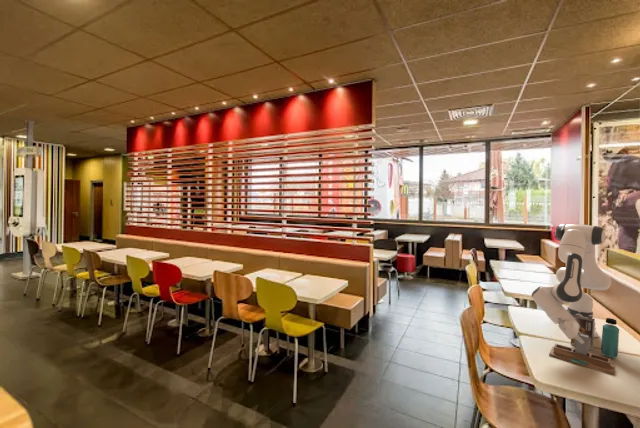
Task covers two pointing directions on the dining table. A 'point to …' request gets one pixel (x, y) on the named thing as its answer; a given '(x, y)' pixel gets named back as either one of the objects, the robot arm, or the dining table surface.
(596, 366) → the rack
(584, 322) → the coffee box
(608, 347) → the beverage bottle
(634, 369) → the dining table surface
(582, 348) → the panel
